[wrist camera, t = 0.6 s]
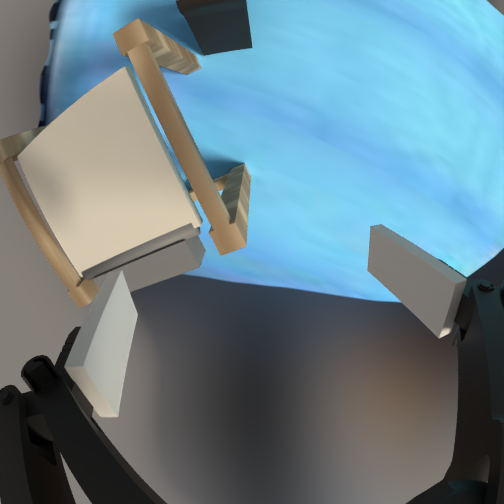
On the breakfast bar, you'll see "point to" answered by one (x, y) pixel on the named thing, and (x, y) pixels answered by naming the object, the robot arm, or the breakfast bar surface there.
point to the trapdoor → (114, 188)
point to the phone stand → (218, 24)
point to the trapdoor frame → (203, 186)
